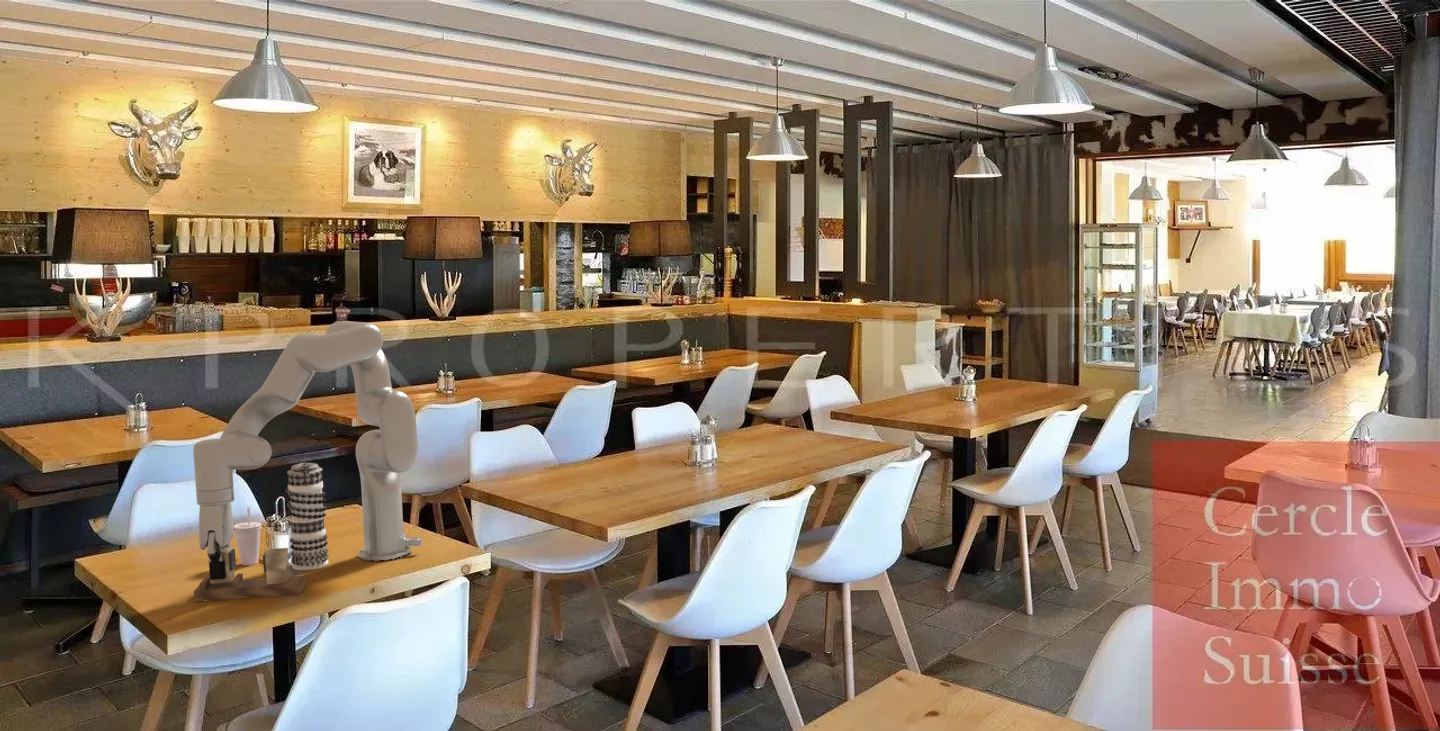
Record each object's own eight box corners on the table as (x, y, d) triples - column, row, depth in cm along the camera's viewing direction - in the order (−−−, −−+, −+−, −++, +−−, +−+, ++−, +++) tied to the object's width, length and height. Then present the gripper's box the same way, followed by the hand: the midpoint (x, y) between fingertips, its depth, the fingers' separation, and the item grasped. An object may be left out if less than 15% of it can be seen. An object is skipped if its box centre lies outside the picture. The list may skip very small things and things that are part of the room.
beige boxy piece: (210, 583, 235) (208, 552, 234) (215, 577, 239) (213, 547, 238) (232, 581, 236) (230, 551, 235) (237, 576, 239) (235, 546, 239)
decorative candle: (288, 562, 262) (282, 462, 259) (328, 557, 266) (323, 459, 263) (290, 572, 254) (284, 470, 251) (331, 567, 257) (325, 466, 254)
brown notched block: (305, 586, 243) (302, 545, 242) (299, 594, 238) (297, 553, 236) (202, 593, 239) (199, 552, 238) (194, 602, 233) (191, 560, 232)
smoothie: (253, 567, 258) (249, 511, 256) (230, 566, 259) (226, 510, 258) (269, 560, 264) (265, 505, 263) (246, 558, 266) (242, 504, 264)
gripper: (208, 487, 242) (213, 565, 244) (185, 505, 226) (191, 588, 228) (243, 486, 244) (248, 563, 246) (223, 503, 227) (229, 586, 229)
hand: (221, 574), depth 237 cm, fingers closed on beige boxy piece, 4 cm apart
